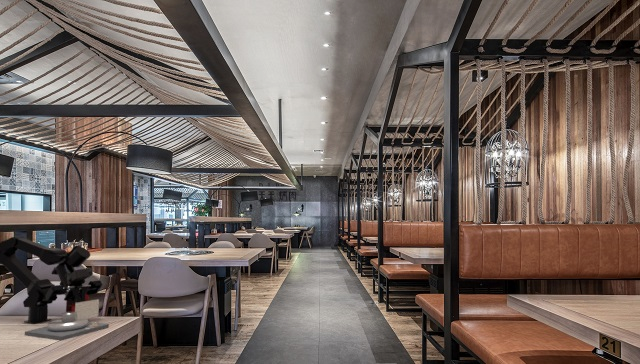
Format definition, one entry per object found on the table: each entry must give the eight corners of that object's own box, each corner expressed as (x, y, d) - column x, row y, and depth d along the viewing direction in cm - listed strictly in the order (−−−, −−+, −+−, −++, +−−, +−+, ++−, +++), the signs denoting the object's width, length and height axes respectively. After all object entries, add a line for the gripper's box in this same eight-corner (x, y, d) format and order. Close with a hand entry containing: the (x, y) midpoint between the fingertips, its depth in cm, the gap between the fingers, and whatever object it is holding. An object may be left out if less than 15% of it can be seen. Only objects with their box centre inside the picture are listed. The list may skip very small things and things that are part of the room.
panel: (24, 335, 142) (24, 330, 142) (74, 323, 159) (75, 319, 159) (61, 340, 135) (61, 335, 136) (109, 327, 152) (109, 323, 152)
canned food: (92, 314, 174) (93, 287, 176) (79, 318, 167) (80, 290, 168) (74, 314, 175) (76, 287, 176) (61, 318, 167) (62, 290, 168)
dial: (59, 332, 139) (61, 308, 140) (40, 328, 145) (42, 305, 146) (106, 322, 153) (107, 300, 154) (87, 319, 159) (88, 297, 160)
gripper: (51, 263, 151) (67, 297, 144) (101, 259, 167) (117, 289, 160) (38, 284, 154) (53, 318, 147) (88, 278, 170) (103, 308, 163)
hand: (83, 307), depth 155 cm, fingers closed
